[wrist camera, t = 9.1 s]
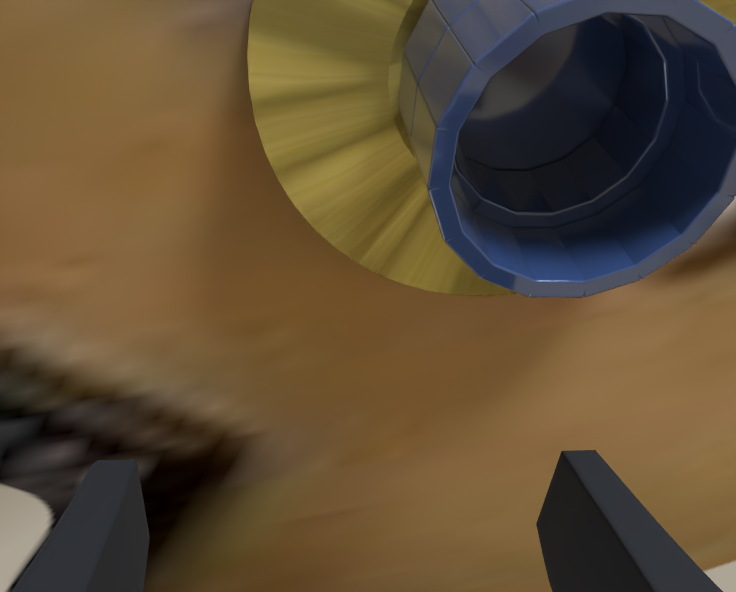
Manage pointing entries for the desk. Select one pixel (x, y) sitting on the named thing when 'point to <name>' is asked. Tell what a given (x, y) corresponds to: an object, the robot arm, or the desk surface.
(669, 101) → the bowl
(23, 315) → the desk surface
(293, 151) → the gold flat disc
